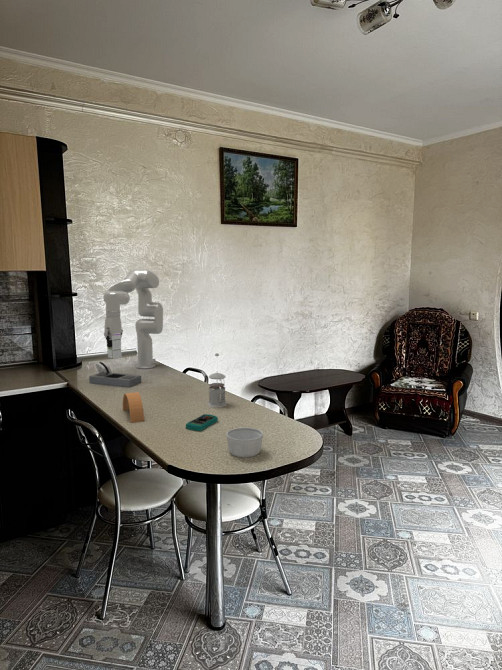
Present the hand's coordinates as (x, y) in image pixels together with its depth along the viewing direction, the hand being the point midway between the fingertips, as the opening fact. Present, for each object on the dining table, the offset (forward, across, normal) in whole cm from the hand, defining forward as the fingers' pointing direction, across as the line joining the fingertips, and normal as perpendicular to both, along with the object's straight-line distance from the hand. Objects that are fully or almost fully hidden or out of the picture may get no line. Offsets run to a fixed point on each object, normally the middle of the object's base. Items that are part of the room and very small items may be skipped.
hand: (114, 345), depth 261 cm
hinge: (+22, -12, -16) cm, 29 cm away
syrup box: (+7, 0, 0) cm, 7 cm away
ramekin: (+22, +68, +102) cm, 124 cm away
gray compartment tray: (+21, 0, 0) cm, 21 cm away
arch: (+22, +46, +41) cm, 65 cm away
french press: (+22, +17, +70) cm, 75 cm away
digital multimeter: (+22, +47, +76) cm, 92 cm away
